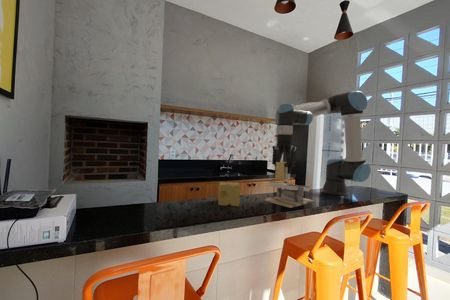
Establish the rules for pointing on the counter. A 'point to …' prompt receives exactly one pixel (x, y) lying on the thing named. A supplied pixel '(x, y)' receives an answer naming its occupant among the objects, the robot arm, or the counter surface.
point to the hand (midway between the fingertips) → (282, 179)
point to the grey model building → (288, 186)
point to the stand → (289, 198)
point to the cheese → (228, 193)
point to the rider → (280, 170)
